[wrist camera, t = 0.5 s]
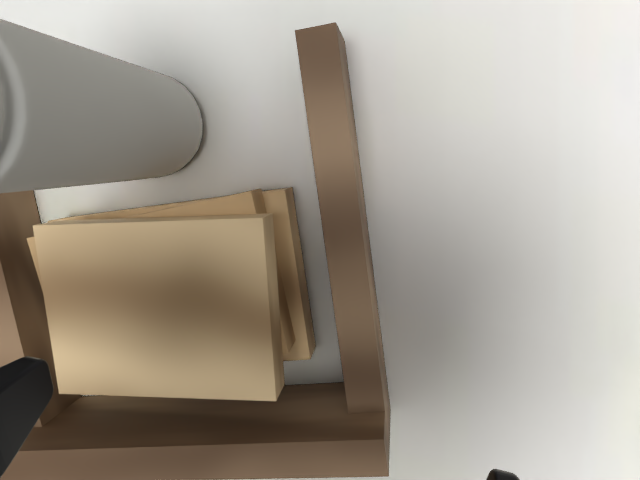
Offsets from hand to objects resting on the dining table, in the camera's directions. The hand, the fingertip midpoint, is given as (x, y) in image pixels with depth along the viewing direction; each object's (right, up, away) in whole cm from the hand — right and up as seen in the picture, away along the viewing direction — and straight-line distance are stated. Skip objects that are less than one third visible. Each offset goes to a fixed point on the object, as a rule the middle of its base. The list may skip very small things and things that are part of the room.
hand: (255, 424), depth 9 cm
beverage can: (-6, +9, +14) cm, 18 cm away
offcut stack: (-5, +2, +15) cm, 16 cm away
